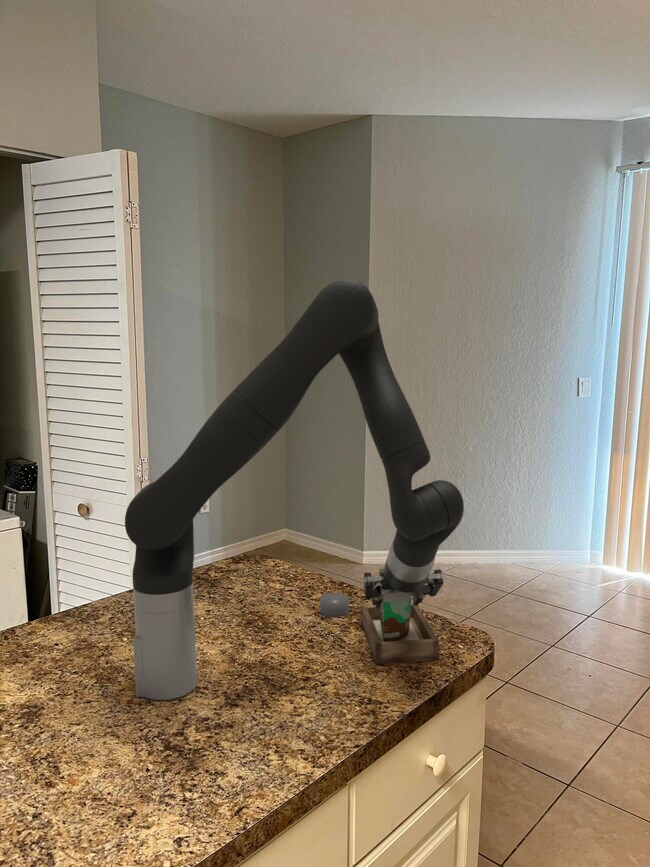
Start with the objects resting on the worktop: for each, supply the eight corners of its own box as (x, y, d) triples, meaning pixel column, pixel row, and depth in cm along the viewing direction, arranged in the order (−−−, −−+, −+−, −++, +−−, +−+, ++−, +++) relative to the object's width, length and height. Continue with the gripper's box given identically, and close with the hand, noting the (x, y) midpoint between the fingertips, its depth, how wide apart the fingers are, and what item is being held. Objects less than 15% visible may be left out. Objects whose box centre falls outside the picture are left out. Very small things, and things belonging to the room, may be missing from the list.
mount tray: (375, 664, 119) (375, 644, 118) (361, 623, 135) (361, 605, 135) (438, 660, 120) (439, 641, 119) (416, 620, 136) (416, 603, 136)
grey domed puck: (321, 618, 138) (321, 604, 138) (318, 606, 144) (318, 593, 144) (351, 617, 139) (351, 602, 138) (347, 605, 145) (347, 591, 144)
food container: (419, 645, 121) (419, 590, 120) (384, 645, 121) (383, 590, 120) (411, 617, 133) (411, 566, 132) (379, 617, 133) (378, 567, 132)
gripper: (448, 538, 118) (430, 581, 131) (364, 542, 116) (355, 584, 130) (456, 579, 113) (437, 619, 126) (369, 583, 112) (359, 623, 125)
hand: (395, 601), depth 128 cm, fingers open, 6 cm apart
